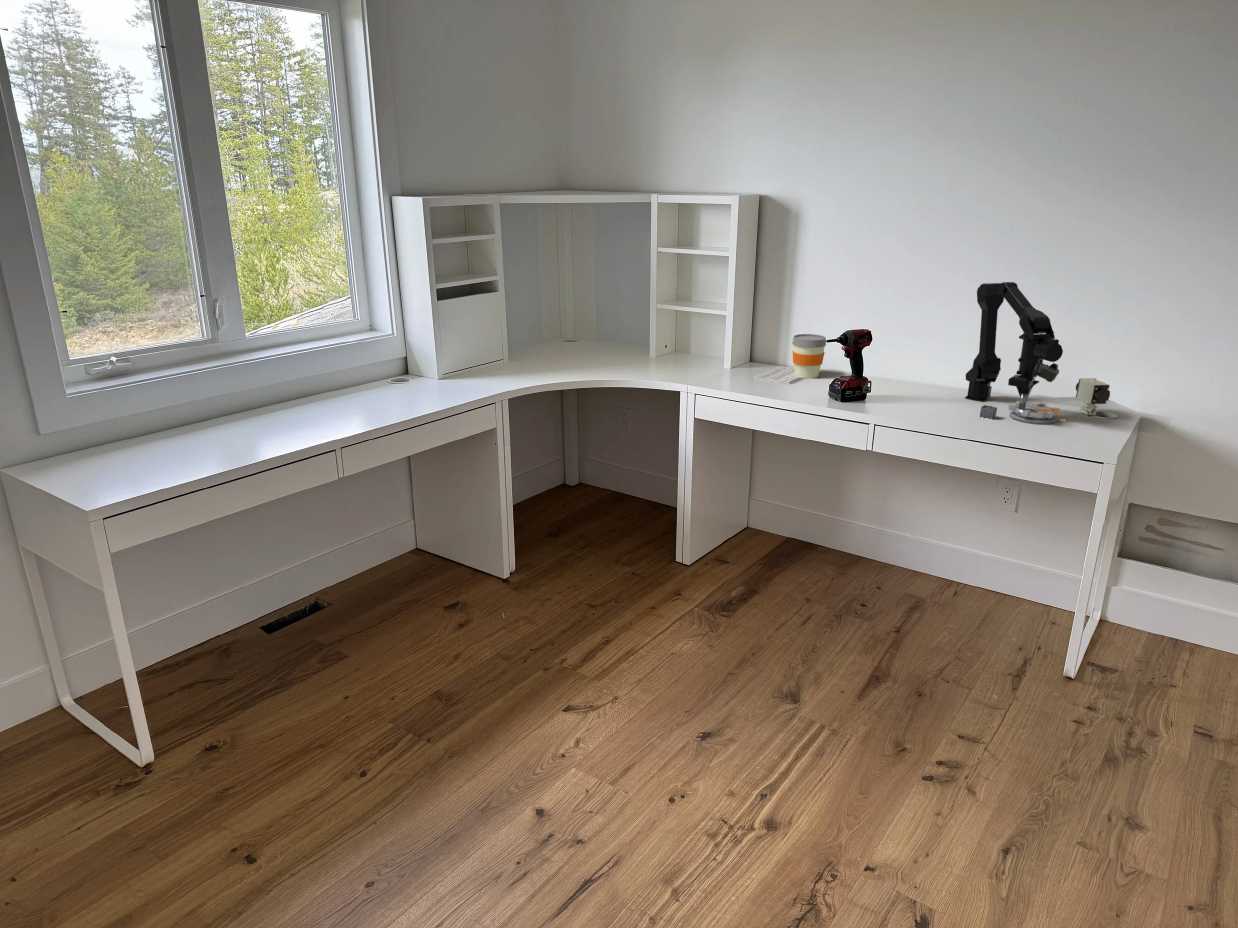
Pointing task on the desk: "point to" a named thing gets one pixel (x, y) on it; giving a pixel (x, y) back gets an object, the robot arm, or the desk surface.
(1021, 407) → the sprocket
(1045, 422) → the plinth
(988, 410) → the banded grey cube
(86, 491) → the desk surface
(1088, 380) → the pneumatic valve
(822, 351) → the reusable coffee cup
